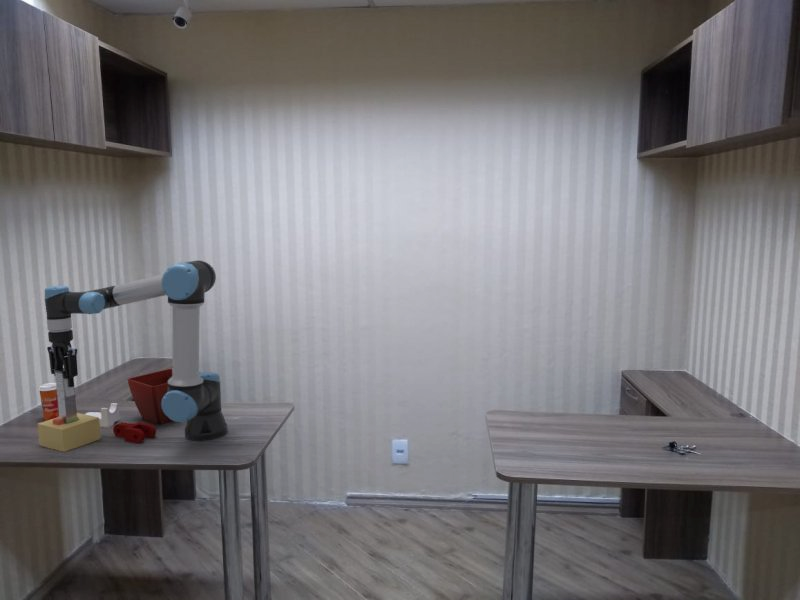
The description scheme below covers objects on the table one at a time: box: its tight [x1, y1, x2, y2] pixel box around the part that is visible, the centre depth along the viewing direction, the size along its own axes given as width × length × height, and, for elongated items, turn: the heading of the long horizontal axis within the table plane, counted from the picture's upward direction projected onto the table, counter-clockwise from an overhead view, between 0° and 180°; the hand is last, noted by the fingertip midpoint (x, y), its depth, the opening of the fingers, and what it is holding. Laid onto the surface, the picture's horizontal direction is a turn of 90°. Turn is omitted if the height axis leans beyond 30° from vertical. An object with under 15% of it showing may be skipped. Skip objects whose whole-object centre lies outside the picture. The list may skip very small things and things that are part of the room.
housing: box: [37, 412, 102, 453], centre depth 216 cm, size 14×14×10 cm
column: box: [54, 367, 79, 424], centre depth 214 cm, size 5×5×21 cm
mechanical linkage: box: [112, 421, 157, 444], centre depth 220 cm, size 16×7×5 cm, turn 67°
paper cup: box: [38, 382, 59, 421], centre depth 241 cm, size 8×8×14 cm
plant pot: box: [127, 368, 173, 425], centre depth 241 cm, size 19×19×17 cm
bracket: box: [85, 402, 120, 428], centre depth 235 cm, size 13×7×8 cm, turn 81°
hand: (66, 394), depth 214 cm, fingers open, 4 cm apart
